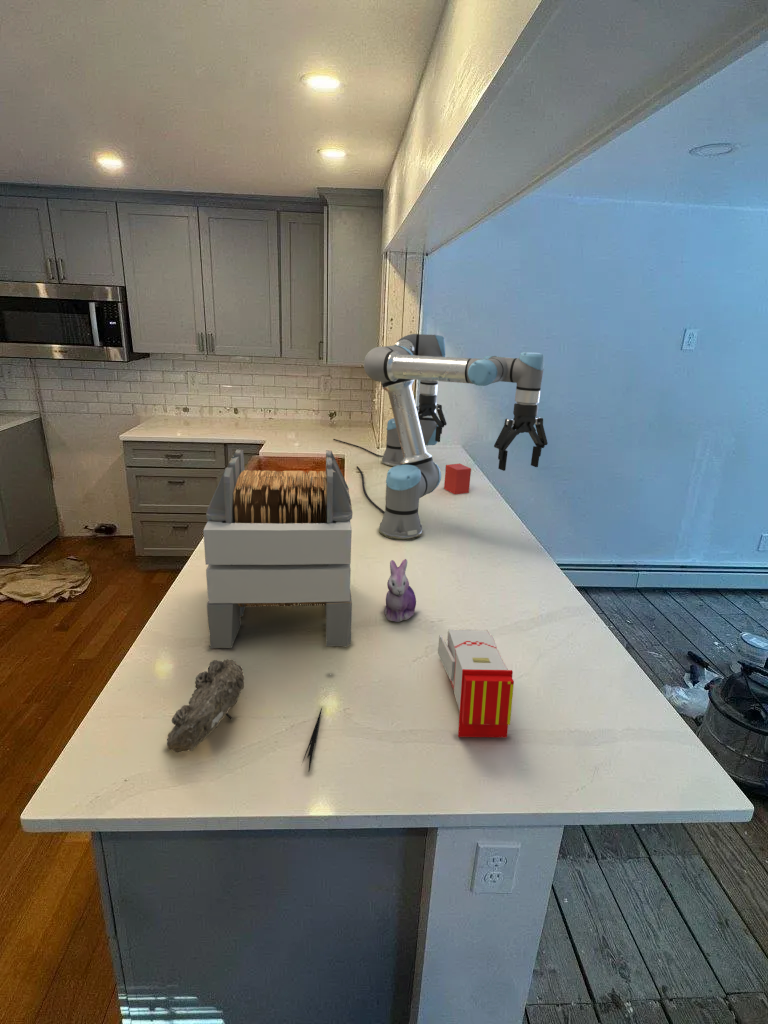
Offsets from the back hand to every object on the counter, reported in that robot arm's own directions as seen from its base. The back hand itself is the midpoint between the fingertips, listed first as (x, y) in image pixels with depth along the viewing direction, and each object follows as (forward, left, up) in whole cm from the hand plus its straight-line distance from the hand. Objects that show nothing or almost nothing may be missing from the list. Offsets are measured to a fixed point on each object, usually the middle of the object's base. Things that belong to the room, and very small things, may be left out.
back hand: (424, 442), depth 249 cm
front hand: (+68, -10, +7) cm, 69 cm away
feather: (+118, -105, -20) cm, 159 cm away
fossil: (+108, -123, -20) cm, 165 cm away
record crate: (+77, -96, -20) cm, 125 cm away
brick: (+12, +10, -20) cm, 25 cm away
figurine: (+92, -70, -20) cm, 117 cm away
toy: (+125, -74, -20) cm, 147 cm away
